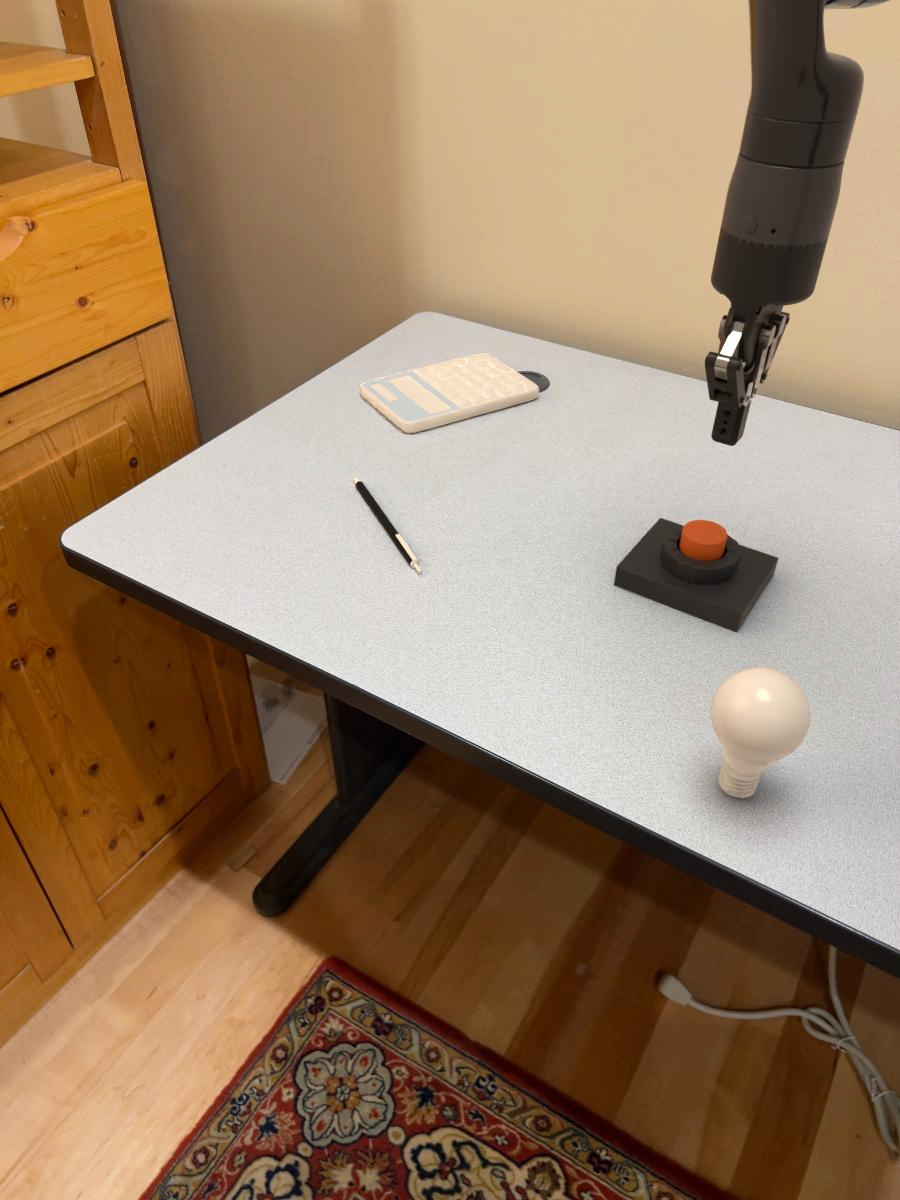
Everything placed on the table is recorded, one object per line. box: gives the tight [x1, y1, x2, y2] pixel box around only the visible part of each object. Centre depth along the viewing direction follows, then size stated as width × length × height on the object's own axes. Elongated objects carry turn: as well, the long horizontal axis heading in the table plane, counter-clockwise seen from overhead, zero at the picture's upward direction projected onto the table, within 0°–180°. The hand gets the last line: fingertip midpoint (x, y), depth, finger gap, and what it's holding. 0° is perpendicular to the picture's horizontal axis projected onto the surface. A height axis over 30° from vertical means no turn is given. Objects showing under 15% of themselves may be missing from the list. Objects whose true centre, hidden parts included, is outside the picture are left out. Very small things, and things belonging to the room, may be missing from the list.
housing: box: [613, 517, 779, 633], centre depth 82 cm, size 12×10×4 cm
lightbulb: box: [710, 666, 812, 799], centre depth 61 cm, size 6×6×11 cm
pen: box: [353, 476, 423, 575], centre depth 91 cm, size 1×19×1 cm, turn 24°
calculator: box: [358, 352, 540, 434], centre depth 113 cm, size 13×20×2 cm, turn 121°
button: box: [679, 519, 729, 561], centre depth 81 cm, size 4×4×2 cm
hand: (726, 439), depth 74 cm, fingers closed
